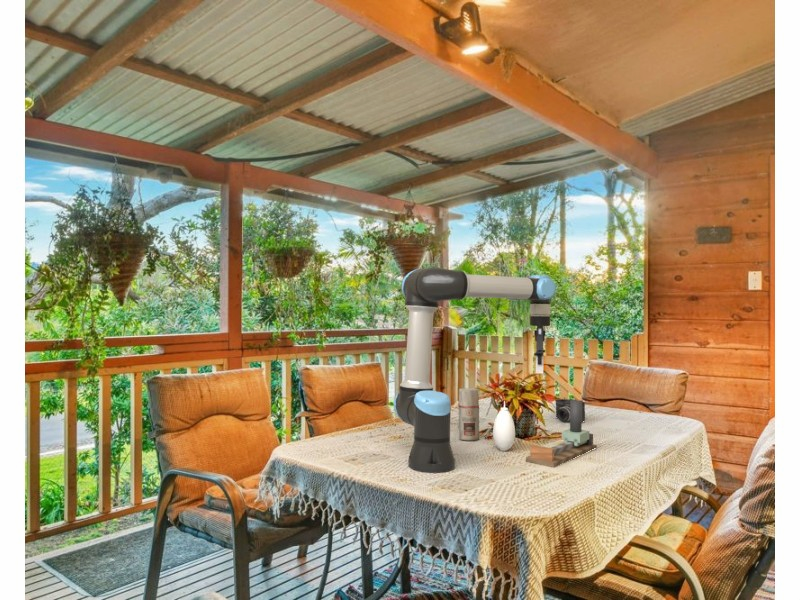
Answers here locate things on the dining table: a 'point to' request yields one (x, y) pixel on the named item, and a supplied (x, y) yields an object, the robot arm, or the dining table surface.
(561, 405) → the camera
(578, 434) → the green base with post
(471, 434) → the spray can
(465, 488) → the dining table surface
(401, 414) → the robot arm
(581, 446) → the rail bed
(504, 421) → the white air blower bulb
